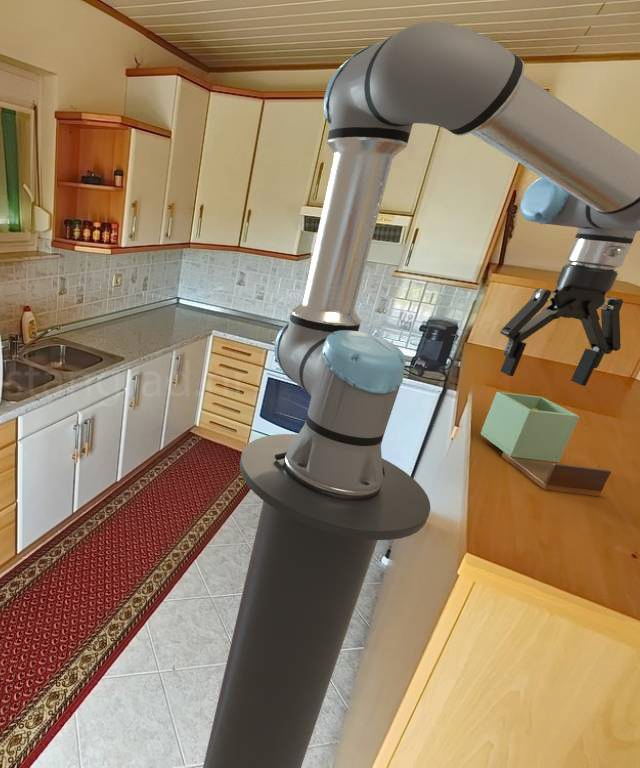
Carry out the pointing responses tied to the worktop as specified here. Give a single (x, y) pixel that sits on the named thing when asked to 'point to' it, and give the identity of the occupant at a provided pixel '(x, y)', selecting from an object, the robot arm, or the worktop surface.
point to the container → (529, 426)
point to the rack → (561, 476)
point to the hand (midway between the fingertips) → (542, 378)
